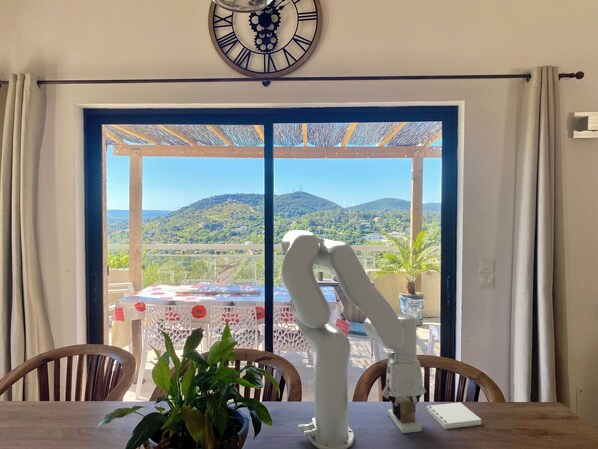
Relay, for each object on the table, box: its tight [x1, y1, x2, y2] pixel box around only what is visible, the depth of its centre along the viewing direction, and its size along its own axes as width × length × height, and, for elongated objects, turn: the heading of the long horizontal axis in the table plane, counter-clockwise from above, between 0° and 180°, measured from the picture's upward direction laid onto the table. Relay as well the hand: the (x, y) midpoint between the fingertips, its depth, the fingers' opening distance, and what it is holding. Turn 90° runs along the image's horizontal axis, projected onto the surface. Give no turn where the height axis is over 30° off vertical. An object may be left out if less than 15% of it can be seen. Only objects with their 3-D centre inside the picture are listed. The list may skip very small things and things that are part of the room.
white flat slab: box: [426, 402, 482, 430], centre depth 106 cm, size 12×10×2 cm
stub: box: [387, 397, 423, 434], centre depth 104 cm, size 6×10×6 cm, turn 10°
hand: (404, 415), depth 104 cm, fingers closed on stub, 4 cm apart
